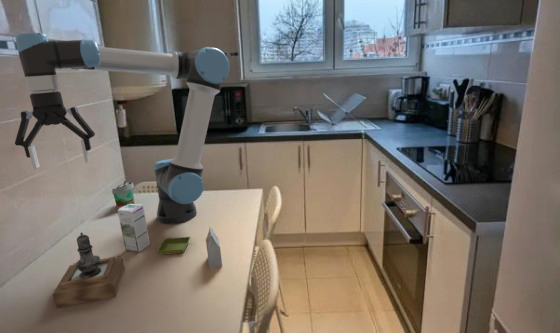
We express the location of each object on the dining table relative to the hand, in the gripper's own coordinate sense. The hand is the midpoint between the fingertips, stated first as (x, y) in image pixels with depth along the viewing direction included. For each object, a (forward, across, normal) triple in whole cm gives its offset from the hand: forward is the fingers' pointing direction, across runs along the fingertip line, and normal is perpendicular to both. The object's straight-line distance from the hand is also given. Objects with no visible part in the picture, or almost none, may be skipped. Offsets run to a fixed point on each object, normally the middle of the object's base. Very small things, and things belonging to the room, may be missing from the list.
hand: (62, 164), depth 106 cm
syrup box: (+31, -16, +1) cm, 35 cm away
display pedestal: (+30, -6, +20) cm, 37 cm away
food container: (+31, -9, -43) cm, 53 cm away
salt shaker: (+26, -6, +20) cm, 34 cm away
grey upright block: (+31, -39, +20) cm, 54 cm away
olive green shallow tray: (+31, -28, +6) cm, 42 cm away
